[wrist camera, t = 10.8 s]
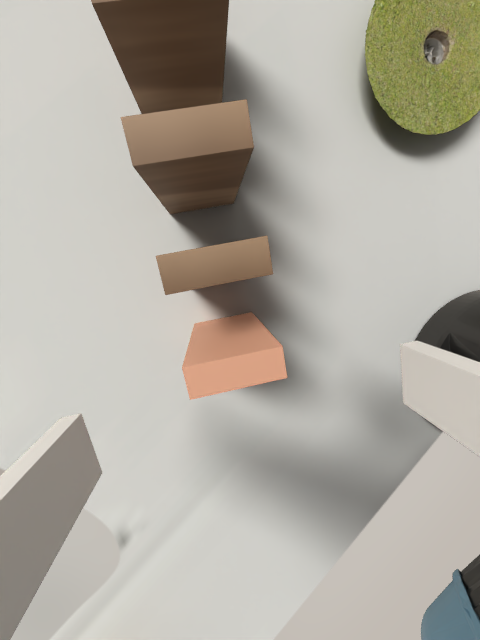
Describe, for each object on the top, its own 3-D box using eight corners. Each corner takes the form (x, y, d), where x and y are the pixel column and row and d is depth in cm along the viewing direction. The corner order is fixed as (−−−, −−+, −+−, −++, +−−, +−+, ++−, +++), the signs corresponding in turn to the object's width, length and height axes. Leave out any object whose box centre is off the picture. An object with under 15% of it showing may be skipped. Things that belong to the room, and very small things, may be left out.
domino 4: (194, 323, 22) (181, 367, 13) (251, 312, 23) (282, 346, 13) (199, 342, 23) (190, 399, 13) (255, 331, 23) (287, 377, 13)
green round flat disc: (506, 74, 21) (535, 55, 19) (405, 176, 22) (423, 167, 20) (433, -63, 18) (459, -101, 17) (322, 58, 19) (334, 35, 17)
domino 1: (146, 110, 19) (76, -60, 9) (215, 100, 19) (220, -73, 9) (152, 137, 19) (92, 3, 9) (220, 127, 19) (229, -12, 10)
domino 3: (181, 260, 21) (155, 255, 11) (241, 249, 21) (267, 235, 12) (185, 282, 22) (165, 295, 12) (245, 270, 22) (273, 274, 12)
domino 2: (164, 190, 20) (120, 117, 10) (229, 179, 20) (246, 99, 11) (170, 214, 20) (132, 166, 11) (233, 203, 21) (253, 147, 11)
